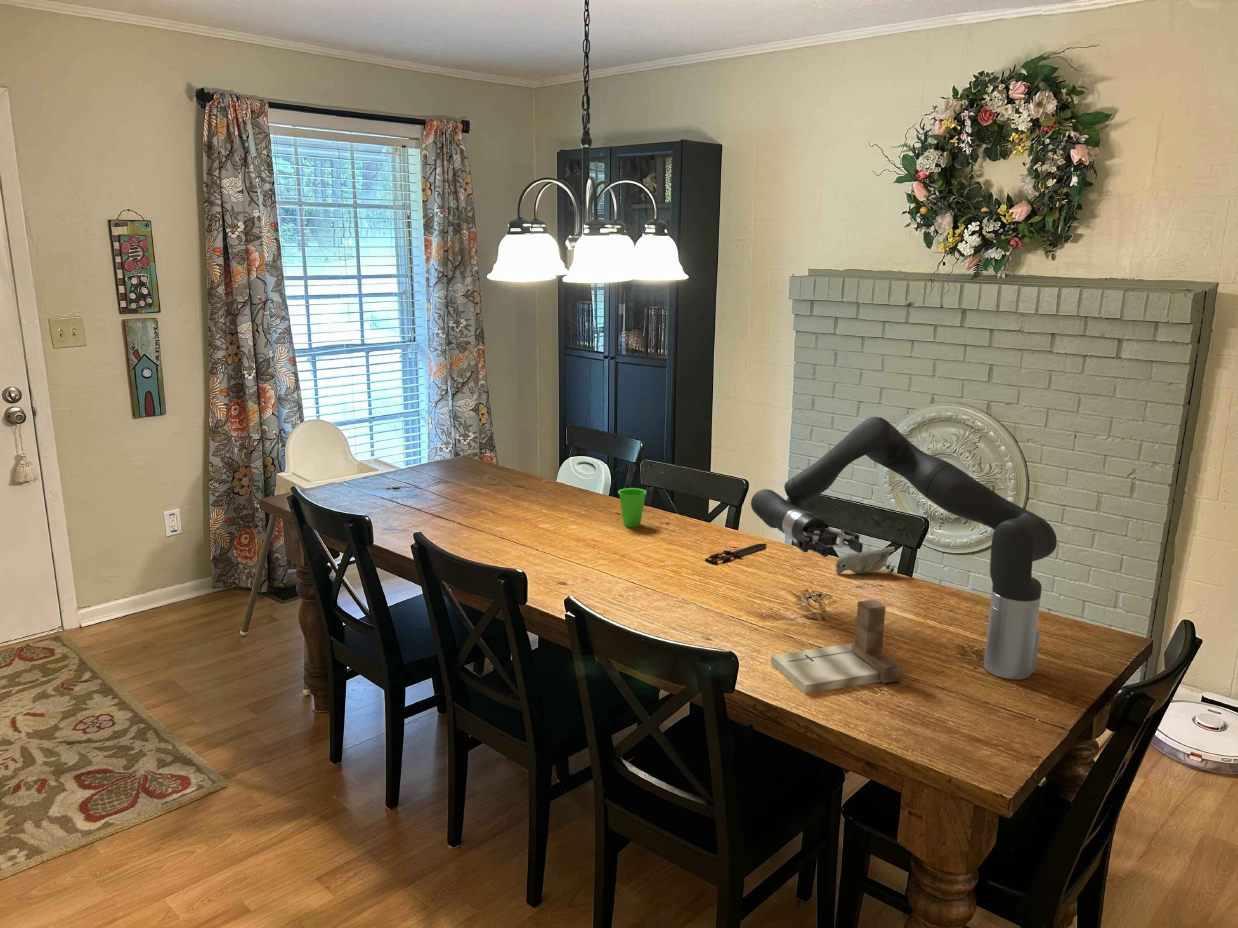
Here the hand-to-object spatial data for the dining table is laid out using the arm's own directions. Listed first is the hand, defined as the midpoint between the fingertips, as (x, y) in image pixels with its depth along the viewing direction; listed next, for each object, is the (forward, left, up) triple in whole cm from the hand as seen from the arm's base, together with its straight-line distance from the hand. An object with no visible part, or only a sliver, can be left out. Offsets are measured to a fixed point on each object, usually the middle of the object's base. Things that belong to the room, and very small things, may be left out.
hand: (844, 550), depth 198 cm
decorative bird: (-32, -38, -23) cm, 55 cm away
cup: (+13, -98, -22) cm, 101 cm away
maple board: (+8, +11, -22) cm, 26 cm away
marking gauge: (0, +14, -22) cm, 25 cm away
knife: (-7, -63, -23) cm, 67 cm away
